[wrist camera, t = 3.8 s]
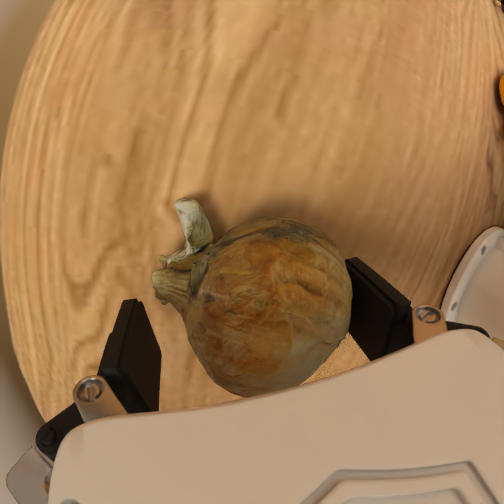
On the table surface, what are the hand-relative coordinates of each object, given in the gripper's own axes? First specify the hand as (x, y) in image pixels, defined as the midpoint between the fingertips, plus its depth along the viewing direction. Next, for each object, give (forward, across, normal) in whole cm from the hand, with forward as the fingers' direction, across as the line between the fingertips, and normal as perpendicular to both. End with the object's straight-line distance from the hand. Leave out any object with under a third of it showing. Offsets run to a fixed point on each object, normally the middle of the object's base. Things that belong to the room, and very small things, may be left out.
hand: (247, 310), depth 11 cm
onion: (-1, -4, 0) cm, 4 cm away
